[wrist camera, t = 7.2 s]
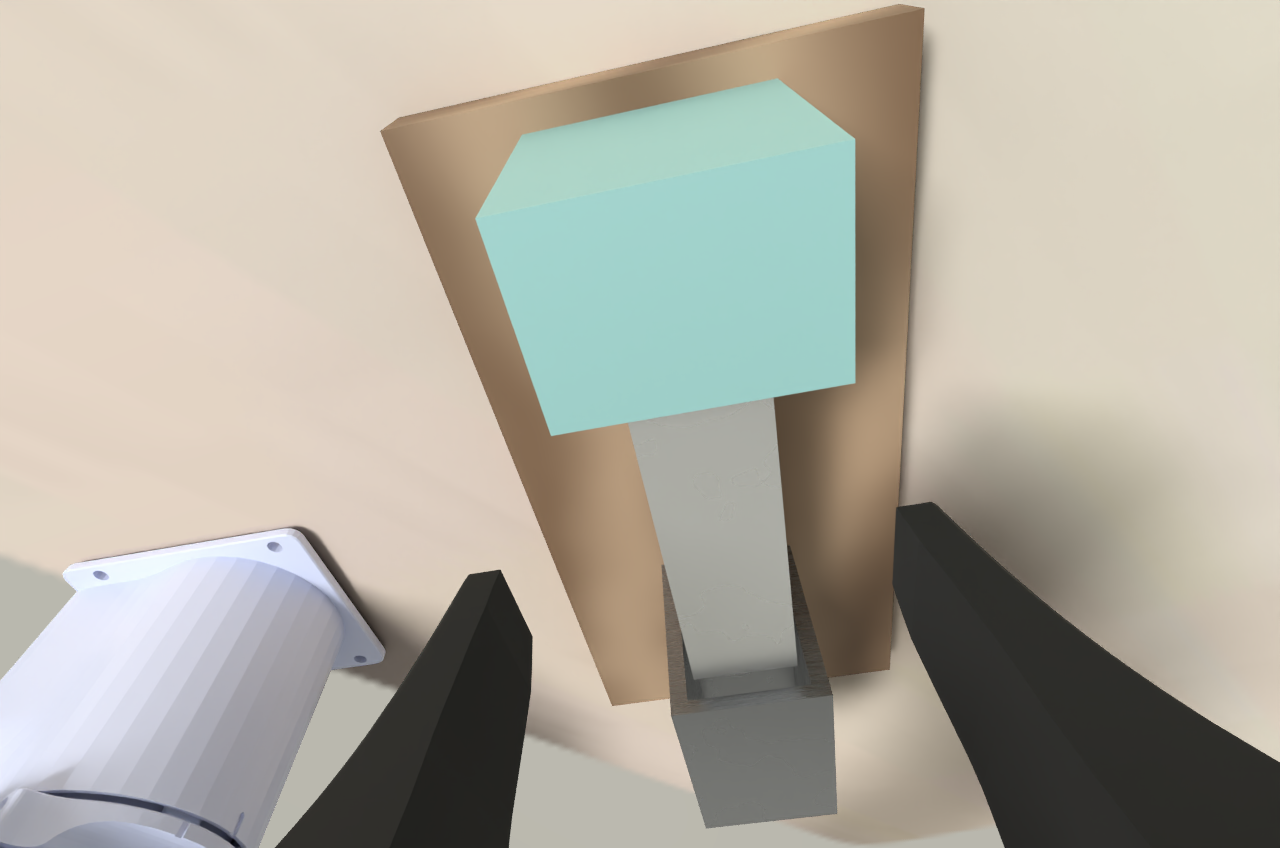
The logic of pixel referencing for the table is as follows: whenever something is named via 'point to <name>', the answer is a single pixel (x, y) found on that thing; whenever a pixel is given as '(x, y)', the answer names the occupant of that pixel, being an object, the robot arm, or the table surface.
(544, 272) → the teal socket block
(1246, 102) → the table surface
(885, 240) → the walnut board
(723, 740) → the grey sleeve
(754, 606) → the grey rectangular bar
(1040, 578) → the table surface
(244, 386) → the table surface
